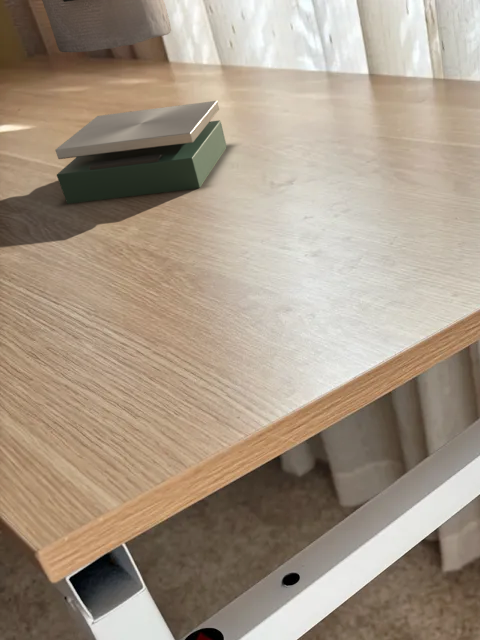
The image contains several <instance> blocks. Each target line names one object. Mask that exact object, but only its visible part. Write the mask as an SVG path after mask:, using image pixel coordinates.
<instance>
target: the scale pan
mask: <svg viewBox="0 0 480 640" xmlns="http://www.w3.org/2000/svg"><path fill="white" fill-rule="evenodd" d="M219 111H220V106H219V101H218V100H212V101H203V102H195V103H188V104H180V105H172V106H165V107H155V108H148V109H141V110H133V111H126V112H118V113H110V114H102V115H97V116H95V117H94V118H93V119H92V120H91V121H89V122H88V123H86V124H85V125H84V126H83V127H81V129H79V130H78V131H77V132H75V133H74V134H73V135H71V136H70V137H69V138H68V139H66V141H64V142H63V143H62V144H60V145H59V146H58V147H57V148H55V150H54V151H55V153H56V157H57V160H64V159H71V158H73V159H74V158H76V157H81V156H89V155H97V154H106V153H114V152H122V151H130V150H138V149H146V148H154V147H162V146H170V145H178V144H187V143H193V142H194V140H195V139H196V138H197V137H198V135H199V134H200V133H201V132H202V130H203V129H204V128H205V127H206V125H207V124H208V123H209V122H211V121H212V119H213V118H214V117H215V115H216V114H217V113H218V112H219Z"/></svg>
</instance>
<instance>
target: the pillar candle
mask: <svg viewBox="0 0 480 640" xmlns="http://www.w3.org/2000/svg"><path fill="white" fill-rule="evenodd" d="M41 1H42V5H43V7H44V10H45V12H46V16H47V17H48V22H49V24H50V28H51V31H52V33H53V37H54V40H55V43H56V46H57V49H58V51H59V52H60V53H86V52H95V51H102V50H109V49H114V48H121V47H124V46H126V47H127V46H132V45H136V44H138V43H143V42H146V41H148V40H151V39H156V38H160V37H164V36H168V35H169V34H171V31H172V28H171V23H170V19H169V13H168V10H167V6H166V3H165V0H74V1H67V2H64V1H63V0H41Z"/></svg>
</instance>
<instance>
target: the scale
mask: <svg viewBox="0 0 480 640" xmlns="http://www.w3.org/2000/svg"><path fill="white" fill-rule="evenodd" d="M225 137H226V136H225V134H224V129H223V125H222V120H219V119H218V120H210V122H209V123H208V124H207V125H206V127H205V128H204V129H203V130H202V132H201V133H200V134H199V135H198V137H197V138H196V139H195V140H194V142H193V143H187V144H178V145H170V146H162V147H154V148H146V149H138V150H130V151H122V152H114V153H106V154H97V155H89V156H81V157H74V158H73V160H71V161H70V162H69V163H68V164H66V166H65V167H64V168H62V169H61V170H60V171H59V172H58V173H56V179H57V180H58V183H59V186H60V189H61V191H62V193H63V197H64V199H65V202H66V204H67V205H70V204H78V203H86V202H87V203H88V202H95V201H102V200H104V201H105V200H112V199H118V198H119V199H120V198H129V197H137V196H144V195H145V196H146V195H153V194H162V193H170V192H171V193H172V192H179V191H187V190H196V189H201V187H202V186H203V184H204V183H205V181H206V180H207V178H208V176H209V175H210V174H211V172H212V170H213V169H214V168H215V166H216V165H217V163H218V162H219V160H220V159H221V157H222V155H223V154H224V153H225V151H226V149H227V148H228V146H227V141H226V138H225Z"/></svg>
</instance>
